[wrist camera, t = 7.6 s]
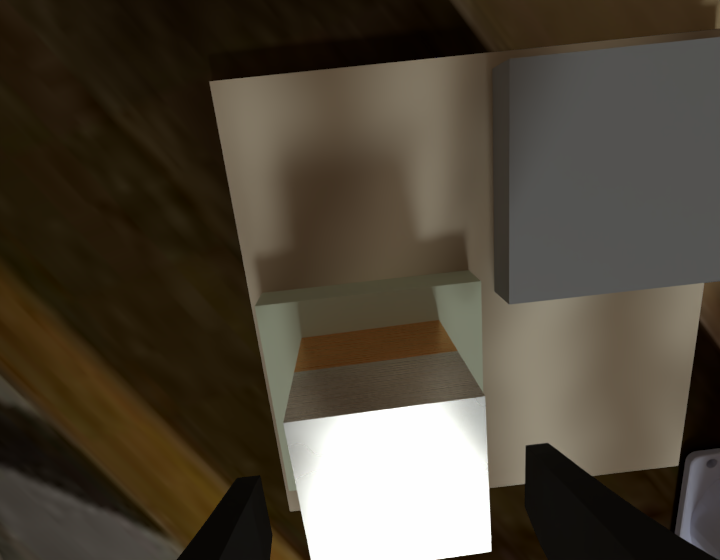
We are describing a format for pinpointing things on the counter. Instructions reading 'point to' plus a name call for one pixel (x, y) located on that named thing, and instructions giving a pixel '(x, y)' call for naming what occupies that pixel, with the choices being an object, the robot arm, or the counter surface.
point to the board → (450, 248)
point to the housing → (389, 446)
